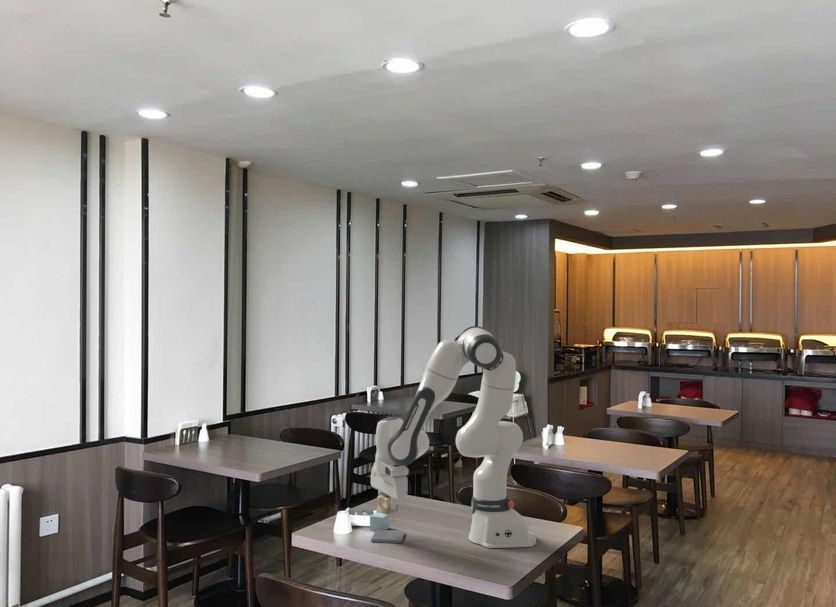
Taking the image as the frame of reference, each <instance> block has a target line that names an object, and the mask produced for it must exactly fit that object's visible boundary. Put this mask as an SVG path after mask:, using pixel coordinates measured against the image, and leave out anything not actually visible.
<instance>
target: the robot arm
mask: <svg viewBox="0 0 836 607" xmlns="http://www.w3.org/2000/svg"><path fill="white" fill-rule="evenodd" d="M470 362H471V363H472V364H473V365H475V366H477V367H478V368H479V367H480V368H481V369H482V373H483V374H482V378H481V383H480V390H479V395H478V400H477V405H476V407H475V409H474V411H473V413H472V415H471V417H470V418H469V420H468V421H467V422H466V423H465V425H463V426H462V427H461V428H460V429H458V430H457V433H456V435H455V446H456V449H457V450H458V452H459V454H460V455H462V456H463V457H467V458H483V460H482V462H481V464H480V465H479V466H478V467H477V468H476V469H475V471H474V473H473V475H472V476H473V478H472V481H473V487H472V488H473V489H472V490H473V492H472V493H473V494H472V495H471V496H472V497H471V512H472V517H471V518H472V519H471V526H470V530H469V534H468V537H467V538H468V540H469V541H470V542H472V543H473V544H474V543H475V544H477V545H481V546H484V547H485V548H488V549H500V548H501V549H502V548H505V549H506V548H509V549H510V548H532V547H535V545H536V544H537V537H536V536H535V534H534V532H532V531H530V528H529V527H530V526H529V524H528V521H527V520H526V518H525V517H524V516H523V515H521V514H520V513H519V512H517V510H515V509H514V506H515V503H514V501H513V499H512V498H511V497H508V496H507V480H508V479H507V478H508V471H509V468H510V464H511V462H512V459H513V457H514V455H515V454H516V453H517V451H518V450H519V449H520V448H521V446H522V445H523V441H524V433H523V430H522V428H521V427H520V426H519V425H518V424H517V423H515V422H513V421H506V420H505V421H504V420H502V419H503V418H504V417H505V416H506V415H508V413H509V412H510V411H511V409H512V406H513V399H514V392H515V386H516V379H517V378H516V376H517V364H516V359H515V357H514V356H513V355H512V354H511V353H509V352H507V351H504V350H502V348H501V346H500V343H499V341H498V340H497V339H496V337H494V336H493V334H492V333H491V332H490V331H488V330H486V329H485V328H483V327H482V326H478V325H474V326H473V325H472V326H469V327H467V328H466V329H464V330H463V331H462V332H461V333H460V334H459V335H457V336H456V337H455V338H454V340H453V339H445V340H441V341H440V342H439V343H438V344H437V346H436V347H435V349H434V351H433V352H432V354H431V356H430V358H429V360H428V361H427V364H426V367H425V369H424V371H423V375H422V377H421V380H420V383H419V386H418V388H417V390H416V394H415V396H414V399H413V401H412V403H411V405H410V407H409V409H408V412H407V414H405V415H406V416H405V417H404V420H402V418H400V416H399V417H398V416H391V417H390V416H389V417H385V418H382V419H381V420H378V422H377V425H376V430H375V446H376V452H375V458H374V462H373V466H372V467H371V472H370V485H371V487H372V488H373V489H375V490H378V491H377V492H378V493H377V494H378V496H381V495H385V494H387V495H389V496H391V503H389V508H390V509H392V510H394V509H396V503H397V501H398V502H399V500H406V498H407V496H408V484H409V482H408V481H409V480H408V477H407V475H409V471H410V470H409V468H408V467H407V466H409V465H411V464H412V463H413V462H414V461H415V460H417V459H418V458H420V457H421V456H423V455H424V454H425V453H427V451H428V449H429V448H430V443H431V442H430V437H429V435H428V433H427V432H426V431H425V430H424V429H423V428H424V425H425V424H426V421H427V419H428V417H429V415H430V413H431V412H432V411H433V410H434V409H435V408H436V407H437V406H439V404H441V403H442V402H443V401H445V400H446V399H447V398H448V397H449V396H450V394H451V393H452V392H453V389H455V388H454V387H455V386H456V384H457V382H458V379H459V376H460V373H461V371H462V370H463V368H464V366H466V365H467V364H468V363H470ZM501 420H502V421H501Z"/></svg>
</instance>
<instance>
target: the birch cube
mask: <svg viewBox="0 0 836 607" xmlns="http://www.w3.org/2000/svg"><path fill="white" fill-rule="evenodd" d="M376 500H377V502H376V503H377V504H376V505H377V506H376V507H377V508H376V512H378V513H383V514H386V515H387V514H389V515H391V514H394V513H399V500H398V501H397V503H396V509H394V510H392V509H390V508H389V503H391V496H389V495H387V494H385V495H381V496H379V495H377V498H376Z"/></svg>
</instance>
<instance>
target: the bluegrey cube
mask: <svg viewBox="0 0 836 607" xmlns="http://www.w3.org/2000/svg"><path fill="white" fill-rule="evenodd" d="M389 528H390V514H387V515H386V514H383V513H381V512H379V511H376V512H374V513H373V514H371V515H369V531H372V530H373V531H372V532H375V531H376V530H389Z"/></svg>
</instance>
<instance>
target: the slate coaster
mask: <svg viewBox="0 0 836 607" xmlns="http://www.w3.org/2000/svg"><path fill="white" fill-rule="evenodd" d="M405 535H406V531H405V530H401V529H400V530H397V529H395V530H393V529H392V530H391V529H390V530H389V529H387V530H376V531H374V532H373V535H372V537H371V538H370V539H371V540H370V542H371V543H382V544H383V543H386V544H387V543H388V544H402V542H403V540H404V537H405Z"/></svg>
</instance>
